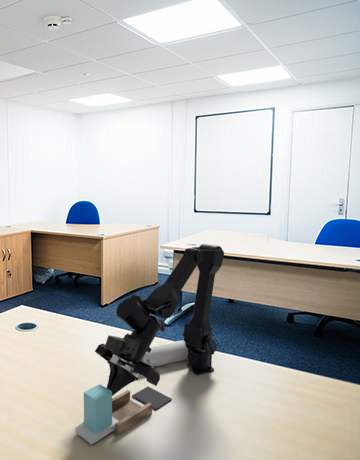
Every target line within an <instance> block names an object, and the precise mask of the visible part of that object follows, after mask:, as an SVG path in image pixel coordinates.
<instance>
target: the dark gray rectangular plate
mask: <svg viewBox="0 0 360 460" xmlns="http://www.w3.org/2000/svg"><path fill="white" fill-rule="evenodd" d="M131 397H132V398H134V399H135V400H137V401H139V402H141V403H143V404H144V405H146V404H148V403H149V402H150V403H152V410H155V411H158V410H159V409H160V408H162V407H164V406H165V405H166V404H168V403H170V402H171V401H172V397H169V396H167V395H165V394H164V393H161V392H160V391H158V390H156V389H154V388H152V387H150V386H145V387H144V388H142V389H141V390H139V391H138V392H135V393H134V394H132V395H131Z"/></svg>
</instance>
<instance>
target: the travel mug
mask: <svg viewBox="0 0 360 460" xmlns="http://www.w3.org/2000/svg"><path fill="white" fill-rule="evenodd" d="M149 347H150V348H151V349H152V350H151V351H150V353H149V352H146V354H145V355H144V357H143V359H142V362H144V363H146V364H148V365H150V366H152V367H153V368H154V367H159V366H163V365H169V364H172V363H177V362H182V361H186V360H189V354H190V349H189V348H186V345H185V341H184V339H182V340H176V341H171V342H167V343H162V344H157V345H150V346H149Z"/></svg>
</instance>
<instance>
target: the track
mask: <svg viewBox="0 0 360 460" xmlns="http://www.w3.org/2000/svg"><path fill="white" fill-rule="evenodd" d="M151 414H153V408H152V403H150V402H149V403H148V404H144V405H143V406H141V405H140V404H138V403H136V402H135V401H133V400H132V399H131V391H130V390H128V389H127V390H125V391H123V392H121V393H120V394H118V395H117V396H115V397H112V417H114V418H115V419H117V420H118V421H119V422H117V423H115V430H114V431H112V432H111V433H113V434H115V435H116V436H117V437H118V436H120V435H122V434H123V433H125V432H127V430H129V429H131V428H132V427H134V426H135V425H136V424H138V423H140V422H141V421H143V420H144V419H146V418H147V417H149V416H150V415H151Z"/></svg>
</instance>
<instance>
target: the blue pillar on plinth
mask: <svg viewBox="0 0 360 460" xmlns="http://www.w3.org/2000/svg"><path fill="white" fill-rule="evenodd" d="M112 398H113V396H112V391H111V390H109V389H107V386H106V387H105V386H104V385H102V384H100V383H99V384H97V385H95V386H93V387H91V388H89V389H86V390H85V391H83V423H80V424H79V425H77V426H76V427H75V433H76V434H77V435H78V436H79V437H81V438H82V439H84V440H85V441H86V442H87V443H89V444H90V445H93V444H95V443H96V442H99V441H100V440H101V439H103V438H104V437H106V436H107V435H109V434H111V433H113V432H112V431H114V430H115V423H117V422H119V421H118V420H117V419H115V418H114V417H112Z"/></svg>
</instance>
